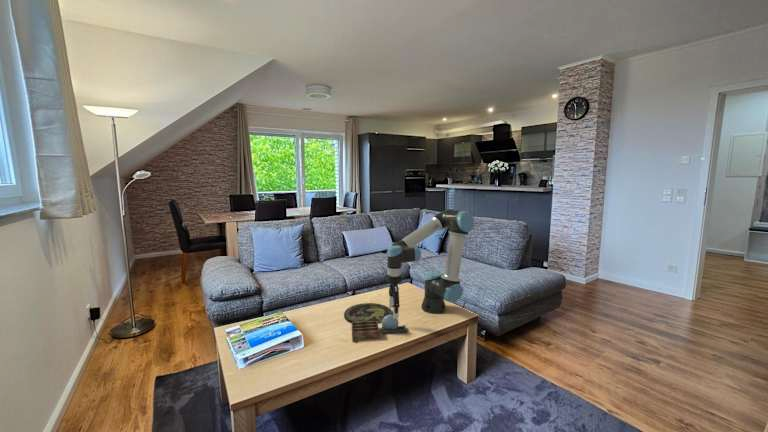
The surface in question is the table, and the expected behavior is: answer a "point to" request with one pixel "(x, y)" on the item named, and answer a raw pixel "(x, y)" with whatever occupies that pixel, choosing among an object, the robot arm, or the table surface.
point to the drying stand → (399, 330)
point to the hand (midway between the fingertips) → (393, 312)
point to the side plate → (389, 323)
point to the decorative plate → (367, 312)
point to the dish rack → (365, 330)
